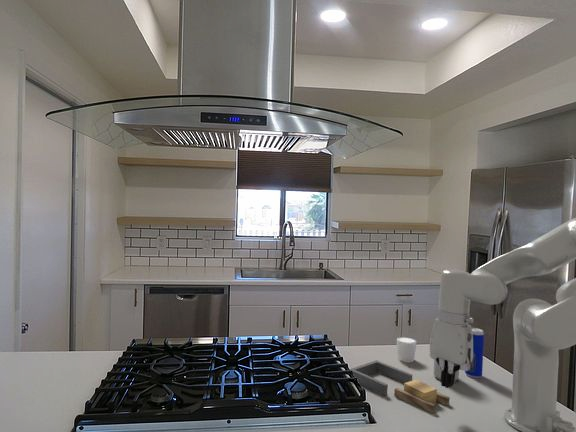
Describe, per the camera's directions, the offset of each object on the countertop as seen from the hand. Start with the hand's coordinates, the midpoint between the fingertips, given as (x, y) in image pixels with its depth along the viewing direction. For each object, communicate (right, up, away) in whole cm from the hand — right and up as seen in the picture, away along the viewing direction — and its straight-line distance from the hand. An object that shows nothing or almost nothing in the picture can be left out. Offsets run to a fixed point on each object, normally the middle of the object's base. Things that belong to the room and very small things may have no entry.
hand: (447, 385), depth 105 cm
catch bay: (-13, -6, +17) cm, 23 cm away
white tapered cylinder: (0, -7, +37) cm, 38 cm away
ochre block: (-5, -7, +7) cm, 11 cm away
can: (+8, -7, +22) cm, 25 cm away
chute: (-5, -7, +7) cm, 10 cm away
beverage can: (+19, -8, +25) cm, 32 cm away
